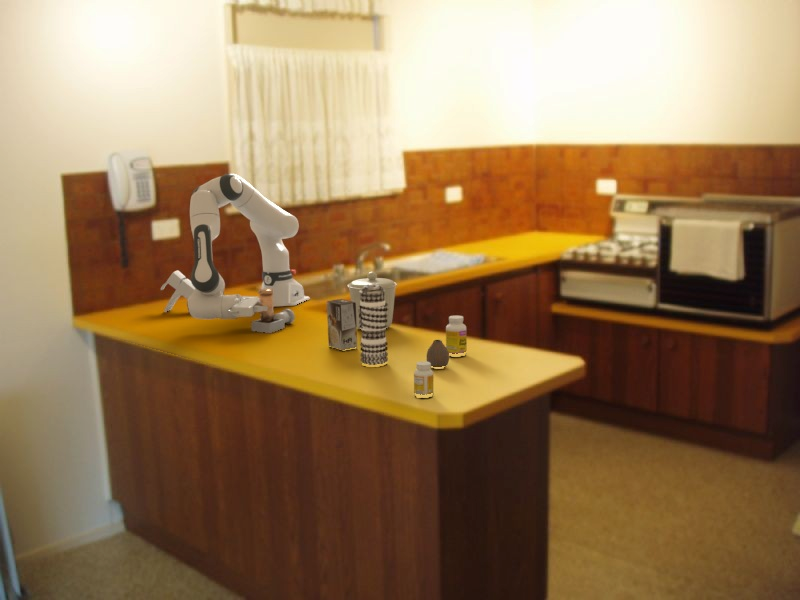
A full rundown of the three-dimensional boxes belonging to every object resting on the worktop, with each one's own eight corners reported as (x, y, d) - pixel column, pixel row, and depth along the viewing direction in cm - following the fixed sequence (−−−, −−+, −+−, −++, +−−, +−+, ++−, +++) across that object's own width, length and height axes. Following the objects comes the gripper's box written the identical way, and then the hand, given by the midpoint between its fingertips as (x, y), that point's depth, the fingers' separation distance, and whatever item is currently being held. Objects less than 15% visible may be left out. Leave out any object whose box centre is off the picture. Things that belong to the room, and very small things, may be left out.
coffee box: (358, 349, 314) (357, 302, 311) (342, 352, 311) (341, 304, 308) (343, 344, 322) (341, 298, 319) (327, 347, 318) (325, 300, 315)
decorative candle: (391, 366, 291) (390, 287, 286) (362, 369, 289) (360, 289, 284) (386, 359, 300) (384, 282, 295) (357, 361, 298) (355, 284, 293)
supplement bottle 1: (416, 400, 256) (415, 366, 255) (412, 394, 262) (411, 361, 260) (435, 398, 257) (435, 364, 255) (431, 393, 262) (430, 360, 261)
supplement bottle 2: (460, 359, 298) (460, 319, 296) (442, 356, 302) (441, 317, 299) (470, 354, 304) (470, 315, 301) (452, 352, 307) (452, 314, 305)
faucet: (210, 301, 377) (172, 270, 378) (188, 331, 382) (150, 301, 382) (216, 298, 383) (178, 268, 384) (194, 328, 388) (156, 298, 388)
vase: (425, 365, 292) (425, 338, 290) (447, 364, 292) (447, 337, 290) (428, 371, 285) (427, 343, 283) (450, 370, 285) (450, 342, 284)
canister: (404, 324, 350) (403, 268, 346) (388, 335, 334) (386, 276, 330) (359, 322, 356) (357, 267, 352) (341, 332, 339) (339, 275, 335)
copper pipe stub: (263, 320, 349) (261, 288, 347) (277, 321, 348) (275, 288, 345) (257, 323, 344) (255, 291, 341) (271, 324, 342) (270, 291, 340)
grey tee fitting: (280, 322, 359) (279, 307, 358) (298, 324, 355) (297, 309, 353) (251, 331, 345) (250, 316, 344) (270, 333, 340) (269, 318, 339)
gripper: (225, 304, 334) (264, 303, 334) (236, 293, 354) (273, 293, 354) (226, 321, 335) (264, 320, 335) (237, 309, 355) (273, 309, 355)
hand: (269, 306), depth 344 cm, fingers closed on copper pipe stub, 5 cm apart
